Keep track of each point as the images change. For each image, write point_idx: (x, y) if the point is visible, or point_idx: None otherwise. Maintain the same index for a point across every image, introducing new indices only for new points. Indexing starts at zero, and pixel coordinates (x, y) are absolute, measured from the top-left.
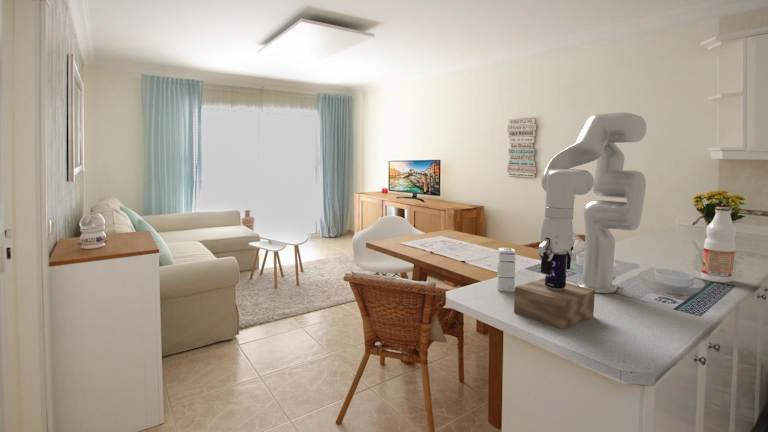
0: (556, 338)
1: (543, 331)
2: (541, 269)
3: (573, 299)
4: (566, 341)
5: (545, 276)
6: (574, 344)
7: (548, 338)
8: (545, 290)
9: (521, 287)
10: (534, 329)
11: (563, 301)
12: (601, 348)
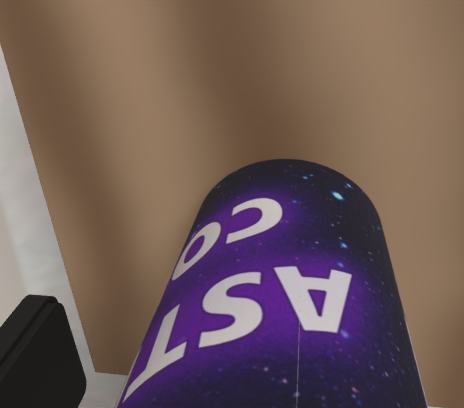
0: (53, 279)
1: None
2: (8, 327)
3: None
4: (67, 309)
5: (202, 228)
6: (74, 332)
7: (24, 262)
8: (160, 210)
9: (26, 19)
10: (32, 186)
11: (95, 359)
12: None
